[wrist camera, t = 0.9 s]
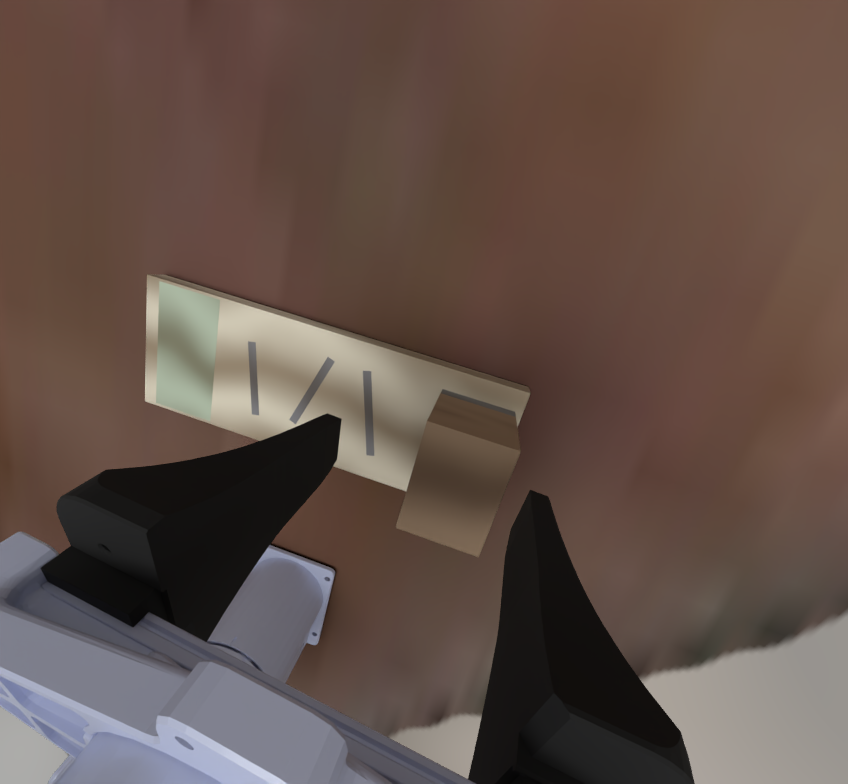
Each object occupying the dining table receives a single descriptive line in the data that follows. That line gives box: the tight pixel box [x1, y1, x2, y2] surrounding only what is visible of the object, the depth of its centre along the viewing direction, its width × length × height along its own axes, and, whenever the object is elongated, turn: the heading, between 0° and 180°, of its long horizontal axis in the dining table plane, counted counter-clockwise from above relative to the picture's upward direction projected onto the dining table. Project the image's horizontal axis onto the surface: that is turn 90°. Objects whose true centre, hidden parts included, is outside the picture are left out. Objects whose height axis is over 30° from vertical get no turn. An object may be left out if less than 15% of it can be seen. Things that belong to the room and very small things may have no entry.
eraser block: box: [396, 389, 521, 557], centre depth 23 cm, size 7×5×6 cm
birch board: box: [145, 274, 531, 491], centre depth 28 cm, size 10×28×2 cm, turn 75°
